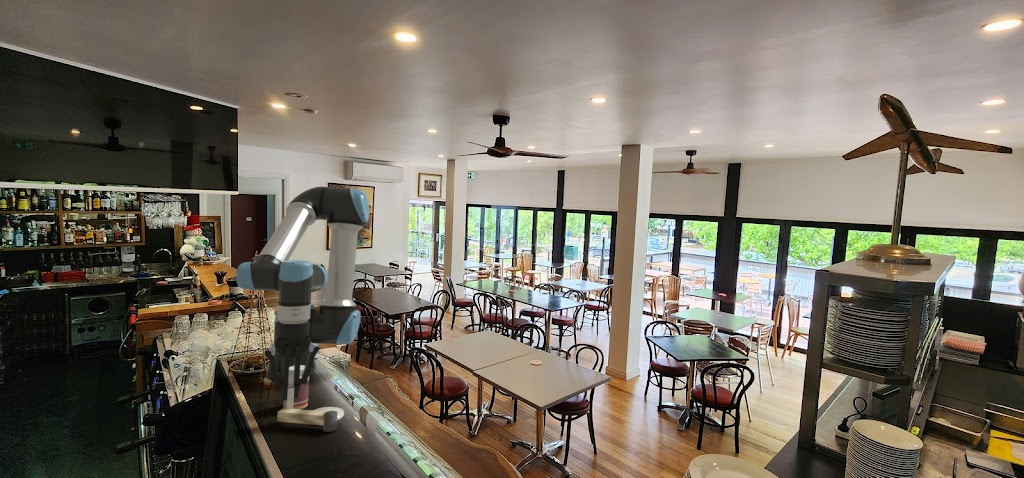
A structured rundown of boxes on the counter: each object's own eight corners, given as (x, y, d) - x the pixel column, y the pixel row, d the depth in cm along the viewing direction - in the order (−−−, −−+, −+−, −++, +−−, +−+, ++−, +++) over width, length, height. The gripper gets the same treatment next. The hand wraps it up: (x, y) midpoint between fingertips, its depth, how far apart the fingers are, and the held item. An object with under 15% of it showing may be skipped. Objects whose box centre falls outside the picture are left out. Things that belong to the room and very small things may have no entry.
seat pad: (305, 413, 116) (305, 409, 116) (340, 408, 121) (341, 404, 121) (308, 427, 108) (309, 423, 108) (346, 421, 113) (346, 417, 113)
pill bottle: (311, 403, 123) (313, 364, 123) (301, 412, 117) (304, 371, 117) (289, 402, 123) (291, 363, 123) (278, 410, 117) (280, 370, 117)
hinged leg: (339, 426, 109) (339, 411, 109) (333, 432, 106) (334, 416, 106) (283, 421, 110) (284, 406, 110) (275, 427, 107) (276, 411, 107)
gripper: (265, 325, 104) (260, 421, 105) (323, 322, 111) (318, 413, 111) (264, 319, 111) (260, 410, 111) (319, 316, 117) (315, 402, 118)
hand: (289, 411), depth 111 cm, fingers closed
